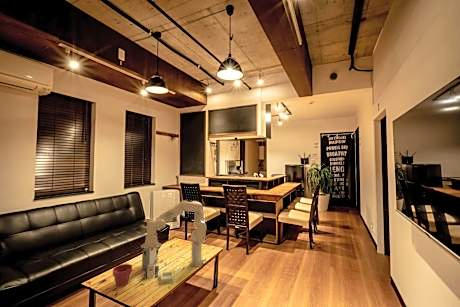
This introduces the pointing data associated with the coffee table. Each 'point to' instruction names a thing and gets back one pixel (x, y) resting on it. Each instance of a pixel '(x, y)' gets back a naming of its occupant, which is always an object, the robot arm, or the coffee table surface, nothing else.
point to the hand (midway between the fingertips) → (151, 254)
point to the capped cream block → (151, 270)
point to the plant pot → (122, 274)
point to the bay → (155, 271)
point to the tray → (167, 277)
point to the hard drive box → (149, 257)
